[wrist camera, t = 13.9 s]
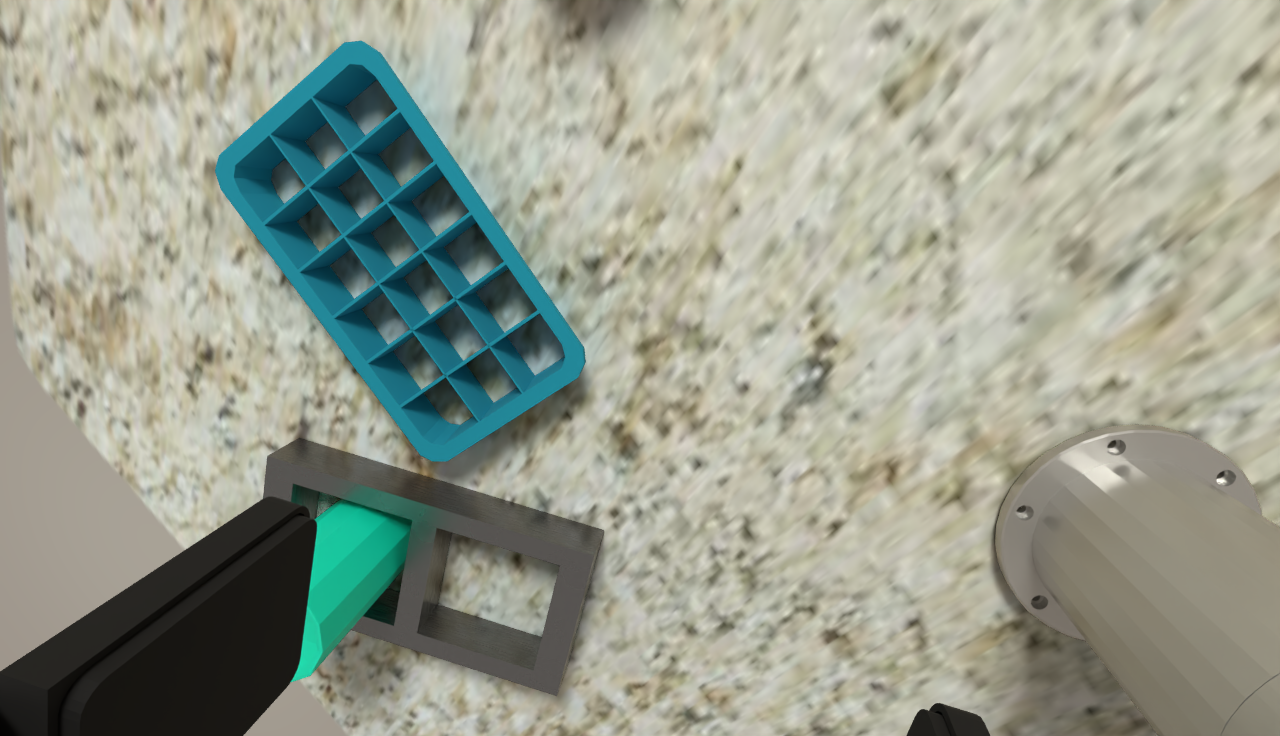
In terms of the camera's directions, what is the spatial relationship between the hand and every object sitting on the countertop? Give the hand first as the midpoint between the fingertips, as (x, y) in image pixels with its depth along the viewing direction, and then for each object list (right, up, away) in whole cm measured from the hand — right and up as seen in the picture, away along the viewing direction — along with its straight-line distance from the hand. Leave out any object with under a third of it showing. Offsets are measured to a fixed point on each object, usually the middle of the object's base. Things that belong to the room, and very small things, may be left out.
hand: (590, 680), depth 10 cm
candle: (-16, -6, +34) cm, 38 cm away
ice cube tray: (-12, +11, +29) cm, 33 cm away
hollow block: (-12, -7, +33) cm, 36 cm away
